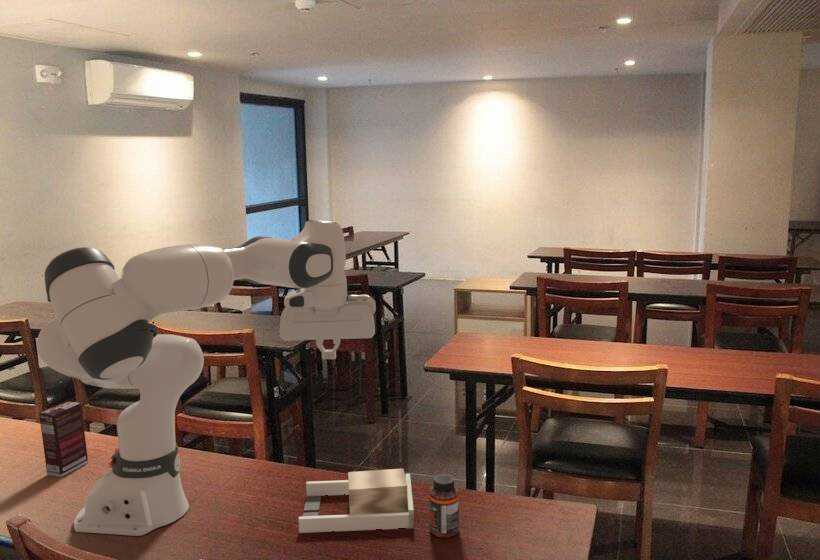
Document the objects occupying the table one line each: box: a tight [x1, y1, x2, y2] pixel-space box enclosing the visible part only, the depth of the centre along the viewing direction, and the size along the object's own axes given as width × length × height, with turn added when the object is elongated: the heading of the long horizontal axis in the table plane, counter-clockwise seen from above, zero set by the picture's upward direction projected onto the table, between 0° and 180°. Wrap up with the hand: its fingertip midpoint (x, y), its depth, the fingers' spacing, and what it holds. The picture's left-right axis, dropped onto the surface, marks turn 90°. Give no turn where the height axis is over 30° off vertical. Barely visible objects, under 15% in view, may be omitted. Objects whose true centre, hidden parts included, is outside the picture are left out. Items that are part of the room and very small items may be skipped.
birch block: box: [347, 468, 408, 514], centre depth 146 cm, size 12×8×7 cm, turn 96°
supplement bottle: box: [428, 473, 460, 539], centre depth 136 cm, size 6×6×11 cm
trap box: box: [298, 473, 415, 534], centre depth 146 cm, size 23×16×4 cm
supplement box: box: [38, 400, 89, 478], centre depth 167 cm, size 9×5×16 cm, turn 159°
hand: (329, 358), depth 148 cm, fingers closed
